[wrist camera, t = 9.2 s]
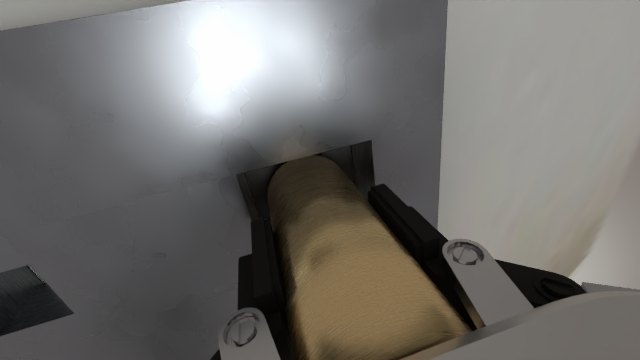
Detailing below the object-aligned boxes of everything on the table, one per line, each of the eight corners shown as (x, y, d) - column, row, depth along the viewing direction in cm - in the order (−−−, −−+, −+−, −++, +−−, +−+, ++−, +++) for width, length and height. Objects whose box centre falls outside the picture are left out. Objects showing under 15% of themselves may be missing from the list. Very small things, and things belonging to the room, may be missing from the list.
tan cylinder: (351, 215, 16) (480, 413, 7) (278, 236, 15) (324, 481, 7) (341, 145, 14) (505, 308, 5) (257, 167, 13) (284, 392, 5)
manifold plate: (410, 264, 21) (434, 296, 18) (31, 391, 17) (-7, 454, 14) (405, -23, 12) (449, -42, 10) (-347, 103, 9) (-604, 128, 6)
